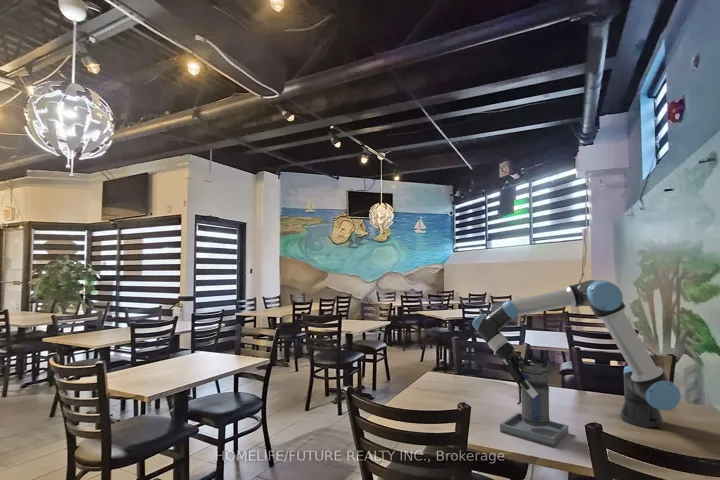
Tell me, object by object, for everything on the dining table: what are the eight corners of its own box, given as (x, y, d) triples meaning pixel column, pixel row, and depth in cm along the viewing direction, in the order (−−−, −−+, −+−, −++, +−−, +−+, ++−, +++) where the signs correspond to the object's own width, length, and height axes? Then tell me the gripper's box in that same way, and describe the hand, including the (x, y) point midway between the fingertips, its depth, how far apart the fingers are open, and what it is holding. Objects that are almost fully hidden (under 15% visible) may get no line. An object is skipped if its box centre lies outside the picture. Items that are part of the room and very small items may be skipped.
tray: (568, 433, 158) (568, 425, 158) (553, 447, 145) (553, 439, 145) (517, 419, 171) (517, 412, 172) (500, 431, 158) (499, 423, 158)
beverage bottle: (515, 415, 165) (514, 354, 167) (550, 420, 161) (549, 357, 162) (515, 424, 156) (514, 359, 157) (552, 430, 151) (551, 362, 153)
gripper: (506, 348, 179) (543, 392, 167) (483, 356, 162) (522, 405, 150) (518, 338, 176) (556, 381, 164) (495, 344, 159) (537, 394, 147)
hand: (540, 393), depth 157 cm, fingers closed on beverage bottle, 10 cm apart
